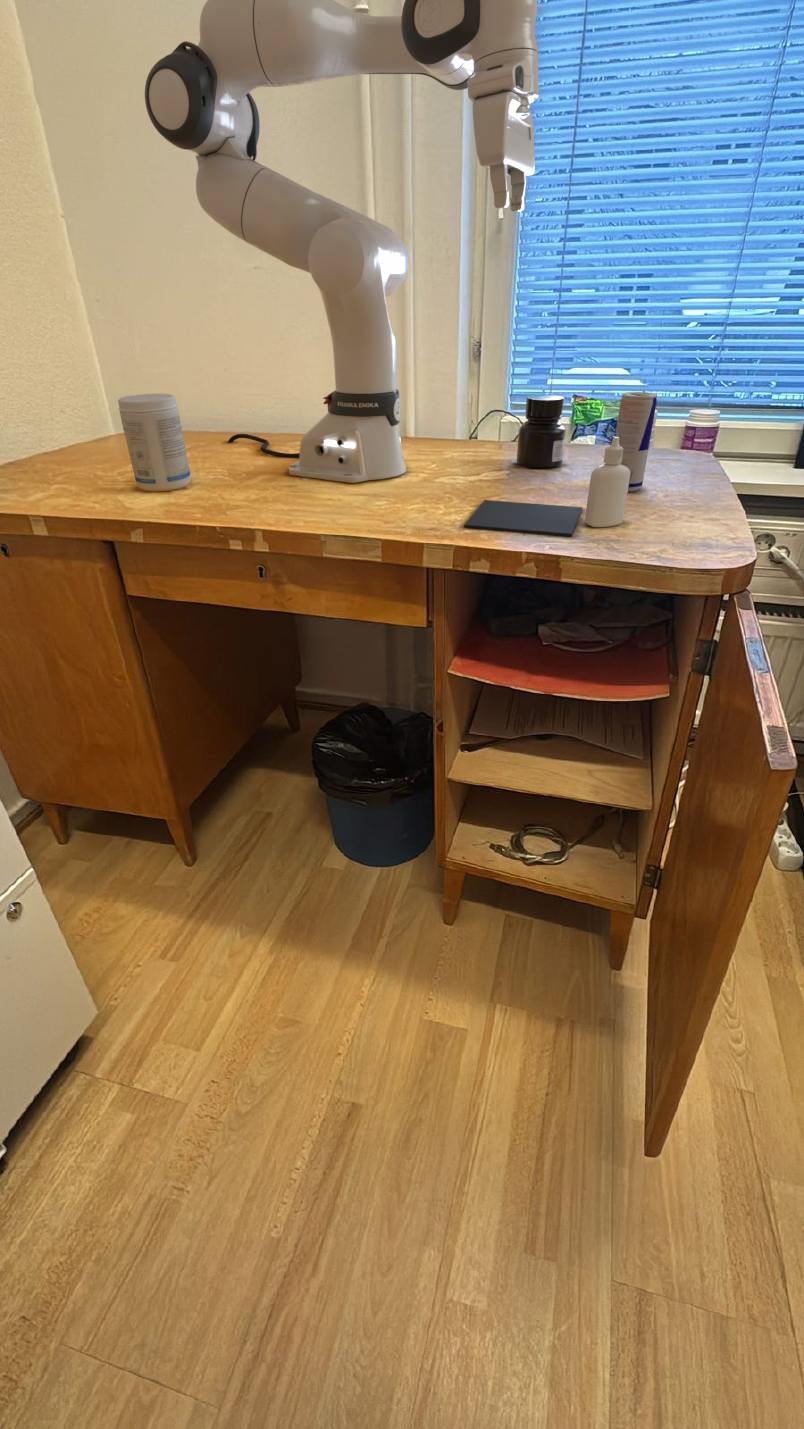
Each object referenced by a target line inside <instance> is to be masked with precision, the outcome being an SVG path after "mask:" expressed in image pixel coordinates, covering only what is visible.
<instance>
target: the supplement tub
mask: <svg viewBox="0 0 804 1429" xmlns="http://www.w3.org/2000/svg"><path fill="white" fill-rule="evenodd" d="M117 403H118V410H119V415H120V419H121V420H120V421H121V425H122V429H123V432H124V436H125V437H124V438H125V441H126V447H127V450H128V454H129V455H128V456H129V459H130V462H131V463H130V464H131V467H132V471H133V476H134V480H135V484H136V486H137V488H138V489H140V490H142V491H147V492H171V491H174V490H179V489H183V488H185V487H187V486H188V485H189V484H190V483H191V481H192V475H191V470H190V464H189V461H188V460H189V459H188V455H187V449H186V444H185V438H184V433H183V429H182V421H181V418H180V413H179V408H178V404H177V402H176V397H175V395H174V394H171V393H142V394H133V395H126V396H123V397H119V398H118V399H117Z"/></svg>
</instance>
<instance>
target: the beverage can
mask: <svg viewBox="0 0 804 1429" xmlns="http://www.w3.org/2000/svg"><path fill="white" fill-rule="evenodd" d="M657 397H658V394H657V393H653V392H644V391H629V392H622V393H621V398H620V401H619V408H618V415H617V423H616V428H615V429H616V430H615V436H614V437H619V445H620V446H621V447H622V448H623V455H622V462H621V463H620V464H621V465H623V466H625V467H627V468H628V469H629V470H630V479H629V486H628V492H627V493H631V492H632V493H633V492H636V491H637V492H638V491H639V490H641V489H642V488H643V482H644V478H645V473H646V472H645V471H646V465H647V462H648V461H647V460H648V454H649V448H650V444H651V436H652V431H653V425H654V420H655V414H656V408H657V403H658V399H657Z"/></svg>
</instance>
